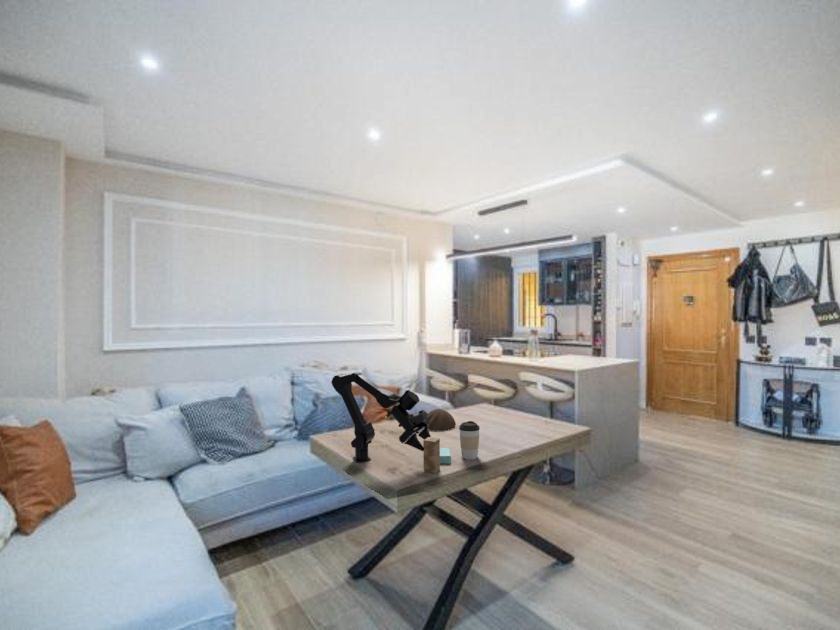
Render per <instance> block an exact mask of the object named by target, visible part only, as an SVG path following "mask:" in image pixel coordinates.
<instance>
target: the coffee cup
mask: <svg viewBox="0 0 840 630" xmlns="http://www.w3.org/2000/svg"><path fill="white" fill-rule="evenodd" d="M459 441H460V449H461V458H462V457H463V458H462V459H464V458H465V460H475V458H476V459H478V455H479V453H478V452H479V445H480V426H479V425H478V423H476V422H475V421H473V420H469V421H465V422H461V424H460V425H459Z"/></svg>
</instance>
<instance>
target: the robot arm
mask: <svg viewBox="0 0 840 630" xmlns="http://www.w3.org/2000/svg"><path fill="white" fill-rule="evenodd" d="M330 383H331V385H332V388H334V390H335V392H337V393H338V394H339V395H340V396H341V399H342V400H343V403H344V405H345V407H346V409H347V412H348V414H349V416H350V418H351V421H352V423H353V425H354V428H353V429H354V436H355V437H354V438H353V440H351V442H350V445H351V448H354V454H355V455H354V456H352V459H353V460H354V461H355V462H356V463H361V462H367V461H368V462H369V461H371V460H372V459H371V457H370V456H369V444H371V443H372V441H373V439H374V438H375V435H376V432H375V430H376V429H375V428H374V426H373V424H372V422H371V421H370V422H367V421H366V419H365V418H364V415H363V413H362V411H361V409H360V407H359V405H358V403H357V400H356V398H355V395H354V393H353V391H352V390H353V388H352V387H353V385H352V383H355V384H356V385H357V386H359V387H360V388H362V389H363V390H364V391H366V392H367V393H368V394H369V395H371V397H373V398H375V401H376V402H377V404H379V405H380V407H381V408H383V409H387V412H386V413H387V414H386V416H387V418H389V417H393V418H394V419H395V420H396V421H397V423H398V427H399V428H403V430H404V431H403V432H402V433H401V434H400V435H399V437H398V439H399V440H398V441H399V442H400V443H401V444H404V445H408V446H410V447H411V448H412V447H413V448H415V449H417V450H419V451H421V452H424V448H423V445H422V443H421V441H420V440H419V439H418V437H420V438H421V439H423V440H425V439H426V438H428V437H432V436H431V434H430V430H428V429H429V425H428V424H429V422H428V421H427V420H425V419H428V418H427V414H428V413H429V412H426V410H424V409H420V410H419V411H418V414H416V415H414V414H413V413H410V412H408V411H411V410H413V408H414V407H415V406H416V405H417V404H418V403H419V402H420V398H419V396H418V394H416V393H414V392H413V391H411V390H410V389H407V390H405V391H404V392H403V394H402V395H397V394H396V393H394V392H393V391H390V390H388V389H384V388H382V387H380V386H379V385H377V384H376V383H374V382H373V381H372V380H370V379H369V378H368V377H367V376H365V375H364V374H363V373H361V372H360V371H356V372H352V373H350V374H347V373H342V374H341V373H340V374H338V375H334V376H333V377H332V379H331V382H330ZM389 408H391V409H389ZM427 425H428V426H427ZM417 434H418V435H417ZM417 436H418V437H417Z"/></svg>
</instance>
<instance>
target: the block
mask: <svg viewBox="0 0 840 630" xmlns="http://www.w3.org/2000/svg"><path fill="white" fill-rule="evenodd" d="M440 440H441V439H440V437H432V436H431V437H428V438H426V439H425V440H424V439H423V445H422V446H423V448H424V451H423V472H424V471H425V472H424V473H431V472H432V474H436V473H437V472H439V470H440V469H441V463H440V448H441V447H440V446H441V443H440V442H441V441H440Z"/></svg>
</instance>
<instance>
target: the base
mask: <svg viewBox="0 0 840 630" xmlns="http://www.w3.org/2000/svg"><path fill="white" fill-rule="evenodd" d="M450 451H451V450H450V447H440V464H451V463H452V462H451V461H452V460H451V456H452V455H451V452H450Z"/></svg>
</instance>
